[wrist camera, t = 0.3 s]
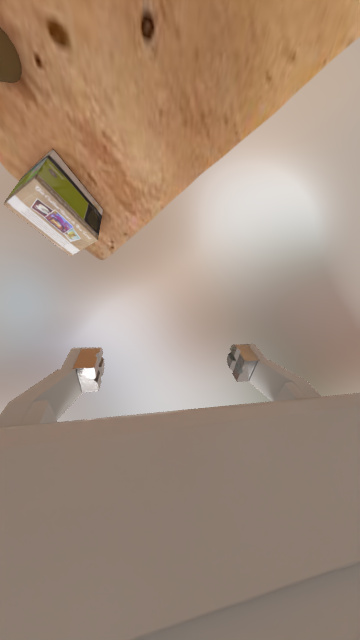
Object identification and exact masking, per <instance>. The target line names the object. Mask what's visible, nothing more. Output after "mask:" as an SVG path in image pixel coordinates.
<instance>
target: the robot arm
mask: <svg viewBox="0 0 360 640" xmlns="http://www.w3.org/2000/svg"><path fill="white" fill-rule="evenodd" d="M230 350H231V352H230V353H229V354H228V357H227V363H228V366H229V368H230V369H231V370H233V373H232V374H233V376H234V377H235V379H236V381H237V382H239V381H249V382H250V383H251V384H252V385H253V386H254V387H256V388H257V389H258V390H259V391H260V392H261V393H263V394H264V395H265V396H266V397H267V398H269V399H270V400H271V401H270V402H260V403H251V404H239V405H229V406H219V407H209V408H198V409H188V410H178V411H168V412H157V413H147V414H137V415H127V416H118V417H117V416H116V417H107V418H96V419H86V420H75V421H65V422H57V420H58V419H59V418H60V416H61V415H62V414H63V413H64V412H65V411H66V410H67V409H68V408H69V407H70V406H71V405H72V404H73V402H75V401H76V399H77V398H78V397H79V396H80V395H81V394H82V393H84V392H95V391H99V388H100V384H101V376H102V375H103V372H104V359H103V358H102V354H103V351H102V348H72V349H71V351H70V352H69V354H68V356H67V358H66V360H65V362H64V364H63V366H62V368H61V369H60V370H56V371H55V372H53V373H52V374H50V375H49V376H47V377H46V378H44V379H43V380H41V381H40V382H39V383H37V384H35V385H34V386H32V387H31V388H30V389H28V390H27V391H25V392H24V393H22V394H21V395H19V396H18V397H16V398H15V399H13V400H12V401H10V402H9V403H8V404H7V406H6V407H5V409H4V410H3V411H2V413H1V414H0V640H360V393H353V394H343V395H332V396H322V397H321V396H320V395H319V394H318V393H317V392H316V390H315V389H314V388H313V387H312V386H311V385H310V384H309V383H308V382H307V381H306V380H304V379H302V378H301V377H299V376H297V375H295V374H293V373H292V372H290V371H288V370H286V369H285V368H283V367H281V366H279V365H277V364H276V363H274V362H272V361H270V360H267V359H266V358H265V357H264V355H263V354H262V353H261V352H260V350H259V349H258V348H257V347H256V345H254V344H240V345H232V346H231V348H230Z"/></svg>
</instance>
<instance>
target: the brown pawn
mask: <svg viewBox="0 0 360 640" xmlns="http://www.w3.org/2000/svg"><path fill="white" fill-rule="evenodd" d="M20 76H21V63H20V59H19V56H18V54H17V51H16V49H15V47H14V45H13V44H12V42H11V40H10V39H9V37H8V36H7V35H6V34H5V32H4V31H3V30H2V29H1V28H0V81H3V82H9V83H12V82H17V81H18V80H19V79H20Z"/></svg>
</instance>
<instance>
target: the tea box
mask: <svg viewBox="0 0 360 640" xmlns="http://www.w3.org/2000/svg"><path fill="white" fill-rule="evenodd" d="M4 205H5V206H6V207H7V208H9V209H10V210H11V211H12V212H14V213H15V214H16V215H17V216H19V217H20V218H21V219H23V220H24V221H25V222H27V223H28V224H29V225H30V226H32V227H33V228H34V229H36V230H37V231H38V232H39V233H41V234H42V235H43V236H45V237H46V238H47V239H48V240H50V241H51V242H52V243H53V244H55V245H56V246H57V247H59V248H60V249H61V250H63V251H64V252H65V253H67V254H68V255H69V256H72V255H74V254H76V253H77V252H79V251H81V250H82V249H84V248H86V247H88V246H89V245H91V244H93V243H94V242H96V241H98V236H99V230H100V224H101V219H102V212H103V209H102V208H101V207H100V205H99V204H98V203H97V202H96V201H95V199H94V198H93V197H92V196H91V195H90V193H89V192H88V191H87V190H86V189H85V187H84V186H83V185H82V184H81V182H80V181H79V180H78V179H77V178H76V176H75V175H74V174H73V173H72V171H71V170H70V169H69V168H68V167H67V165H66V164H65V163H64V162H63V161H62V159H61V158H60V157H59V156H58V154H57V153H56V152H55V151H54V150H53V149H52V150H51V151H50V152H48V153H47V154H46V155H45V156H44V157H43V158H42V159H41V160H40V161H39V162H38V163H37V164H36V165H35V166H34V167H32V168H31V169H30V170H29V171H28V172H27V173H26V174H25V175H24V176H23V177H22V178H21V179H20V181H19V182H18V184H17V185H16V186H15V188H14V189H13V191H12V192H11V194H10V195H9V197H8V198H7V199H6V201H5V203H4Z"/></svg>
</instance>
